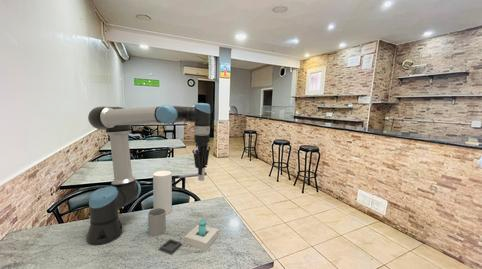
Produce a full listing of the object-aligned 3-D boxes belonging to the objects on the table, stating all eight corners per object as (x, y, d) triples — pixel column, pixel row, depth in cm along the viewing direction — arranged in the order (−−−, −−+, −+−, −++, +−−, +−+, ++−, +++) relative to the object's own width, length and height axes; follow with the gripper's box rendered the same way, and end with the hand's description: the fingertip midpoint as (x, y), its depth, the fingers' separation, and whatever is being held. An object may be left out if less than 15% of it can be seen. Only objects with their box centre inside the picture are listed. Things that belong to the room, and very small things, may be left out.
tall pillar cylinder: (159, 206, 133) (158, 170, 130) (174, 208, 132) (174, 171, 129) (150, 215, 122) (149, 175, 120) (167, 216, 121) (166, 176, 119)
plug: (197, 241, 99) (197, 222, 98) (201, 237, 103) (201, 218, 102) (203, 243, 98) (203, 224, 97) (207, 239, 101) (207, 220, 100)
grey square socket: (157, 251, 92) (157, 247, 91) (169, 241, 99) (169, 237, 99) (171, 256, 89) (171, 252, 88) (183, 245, 96) (183, 241, 96)
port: (184, 244, 97) (184, 236, 97) (198, 230, 108) (198, 223, 108) (206, 251, 93) (206, 243, 92) (218, 236, 104) (218, 229, 103)
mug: (161, 236, 102) (161, 216, 101) (145, 236, 102) (144, 215, 101) (170, 223, 114) (170, 205, 113) (155, 223, 114) (155, 204, 113)
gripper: (201, 136, 93) (200, 185, 96) (215, 133, 105) (214, 177, 108) (187, 135, 96) (187, 182, 98) (202, 132, 108) (202, 175, 110)
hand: (201, 180), depth 103 cm, fingers closed
